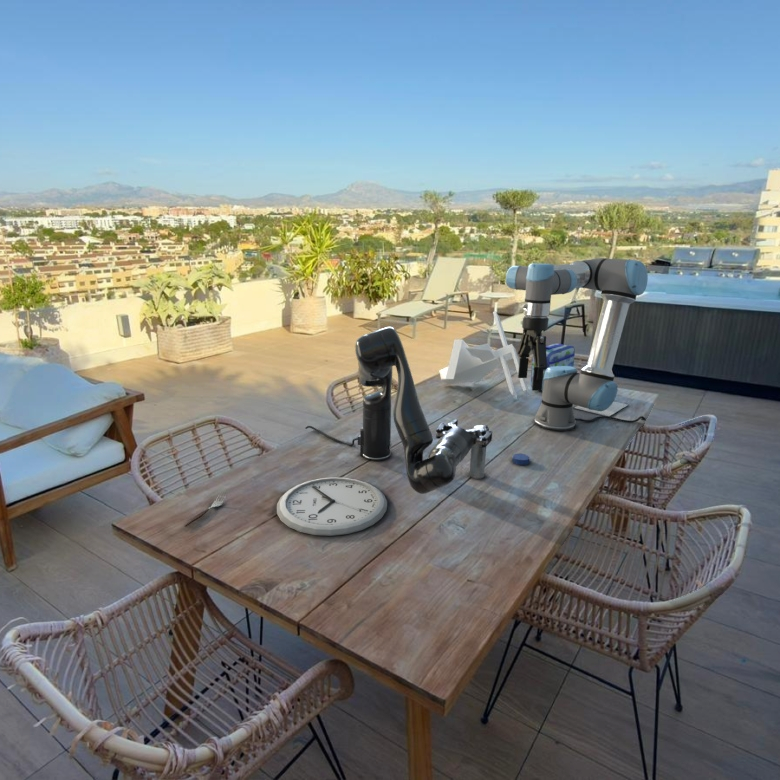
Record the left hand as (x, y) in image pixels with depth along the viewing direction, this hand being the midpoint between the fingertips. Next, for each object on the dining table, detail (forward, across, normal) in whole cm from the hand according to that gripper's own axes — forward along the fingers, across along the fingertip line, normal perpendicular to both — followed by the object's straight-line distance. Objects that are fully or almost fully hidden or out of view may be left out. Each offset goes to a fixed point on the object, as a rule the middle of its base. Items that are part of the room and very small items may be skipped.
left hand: (471, 425), depth 145 cm
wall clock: (-24, +31, +20) cm, 44 cm away
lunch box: (+118, -8, +22) cm, 120 cm away
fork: (-42, +59, +20) cm, 75 cm away
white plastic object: (+95, +21, +22) cm, 100 cm away
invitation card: (+99, -32, +21) cm, 106 cm away
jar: (+11, 0, +21) cm, 23 cm away
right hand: (+28, -10, -6) cm, 30 cm away
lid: (+27, -10, +19) cm, 35 cm away
